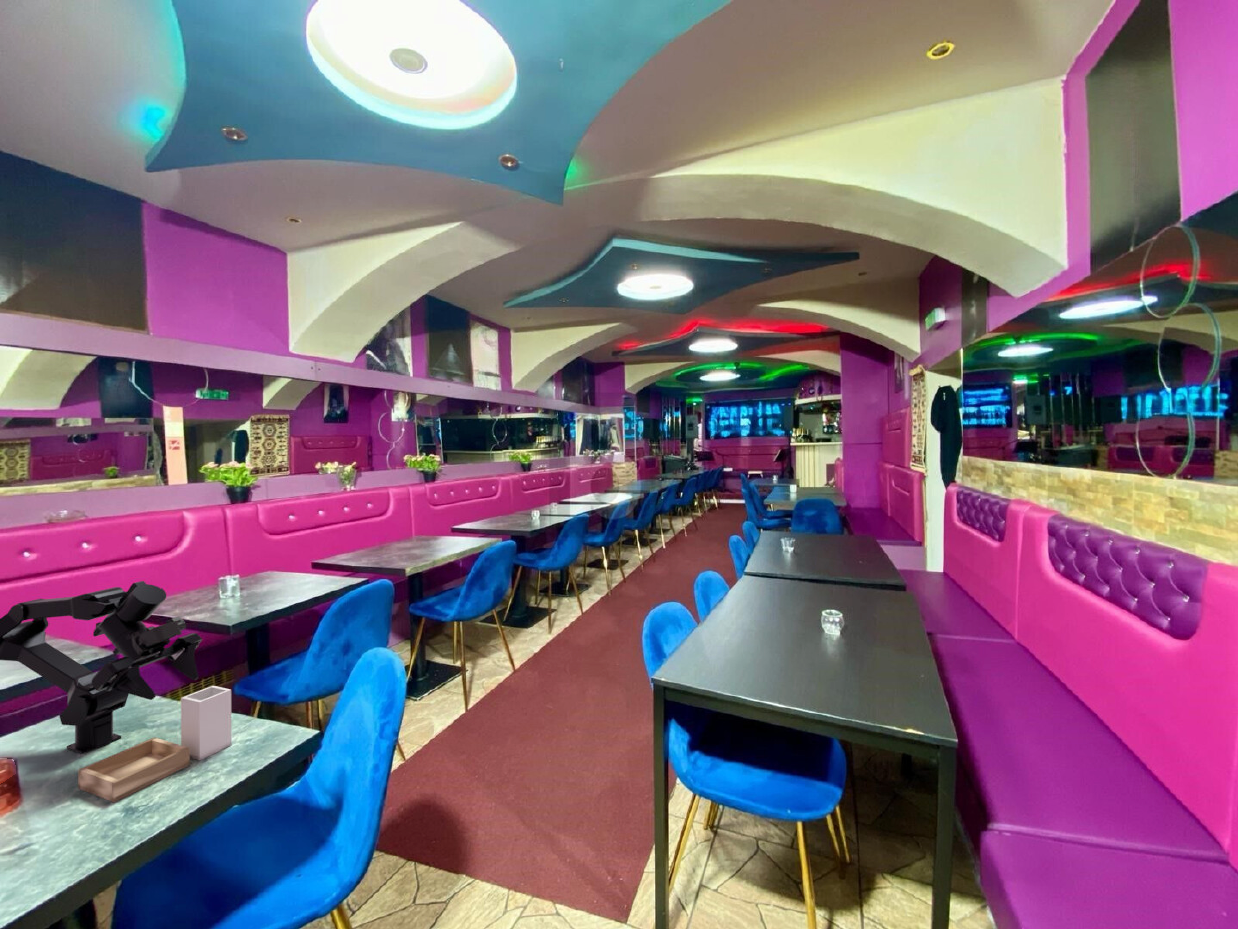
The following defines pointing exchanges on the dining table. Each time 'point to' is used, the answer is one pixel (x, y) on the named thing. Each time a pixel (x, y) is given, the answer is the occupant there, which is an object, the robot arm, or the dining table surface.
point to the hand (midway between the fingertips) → (176, 688)
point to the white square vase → (206, 721)
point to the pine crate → (133, 769)
